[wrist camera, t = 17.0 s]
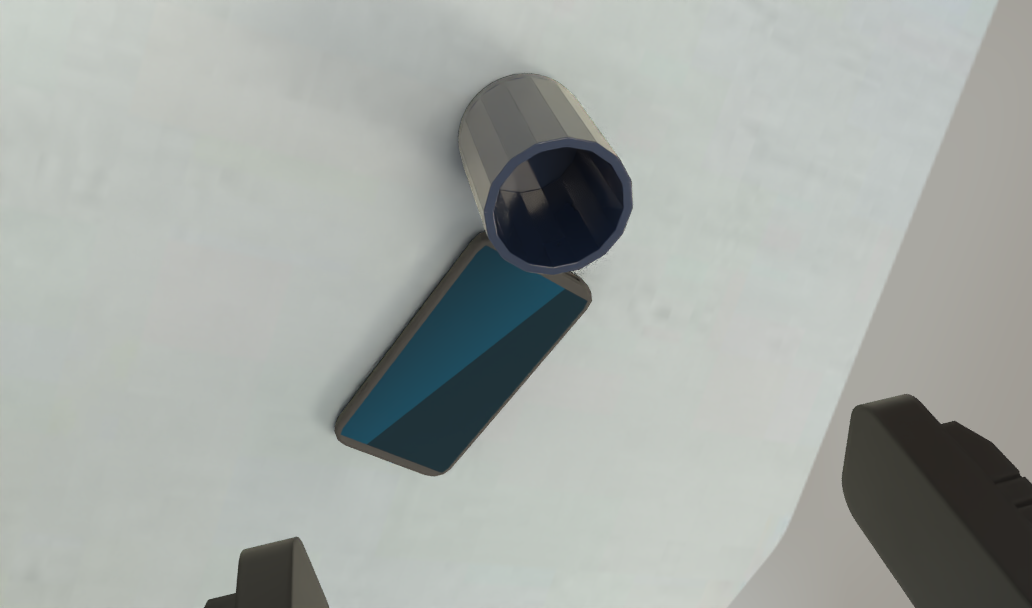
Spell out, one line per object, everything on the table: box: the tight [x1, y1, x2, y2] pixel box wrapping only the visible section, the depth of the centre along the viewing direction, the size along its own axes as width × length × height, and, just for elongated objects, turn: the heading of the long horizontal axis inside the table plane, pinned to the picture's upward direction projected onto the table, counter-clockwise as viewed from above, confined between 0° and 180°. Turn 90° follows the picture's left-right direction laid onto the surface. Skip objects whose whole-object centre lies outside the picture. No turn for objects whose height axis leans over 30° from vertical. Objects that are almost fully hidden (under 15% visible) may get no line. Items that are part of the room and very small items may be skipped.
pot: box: [458, 74, 633, 275], centre depth 36 cm, size 6×6×8 cm
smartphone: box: [335, 232, 592, 476], centre depth 45 cm, size 8×15×1 cm, turn 143°
